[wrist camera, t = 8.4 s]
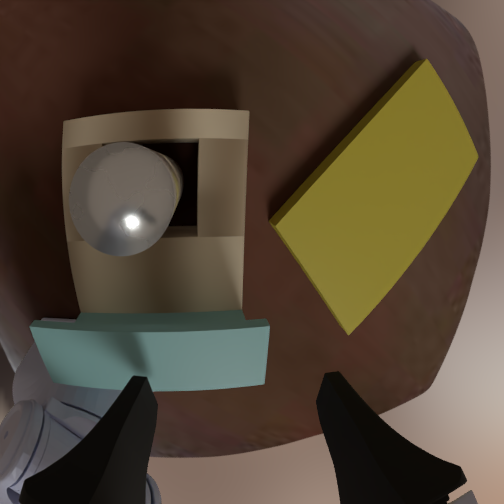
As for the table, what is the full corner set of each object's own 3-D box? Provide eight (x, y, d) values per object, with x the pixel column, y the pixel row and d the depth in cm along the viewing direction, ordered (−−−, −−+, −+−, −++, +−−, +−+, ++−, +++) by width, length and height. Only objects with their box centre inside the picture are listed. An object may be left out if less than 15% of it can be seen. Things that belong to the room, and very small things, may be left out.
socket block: (95, 302, 18) (83, 322, 15) (81, 126, 14) (63, 121, 11) (234, 299, 21) (241, 320, 18) (240, 119, 17) (249, 110, 14)
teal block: (83, 322, 15) (53, 382, 10) (72, 275, 14) (29, 326, 9) (241, 320, 18) (264, 384, 12) (243, 271, 17) (269, 326, 11)
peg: (127, 214, 17) (75, 258, 9) (125, 155, 16) (67, 149, 7) (184, 212, 18) (176, 254, 9) (184, 152, 17) (175, 138, 8)
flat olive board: (412, 62, 18) (244, 244, 20) (426, 58, 16) (250, 253, 18) (464, 155, 22) (337, 322, 24) (478, 156, 20) (348, 335, 22)
